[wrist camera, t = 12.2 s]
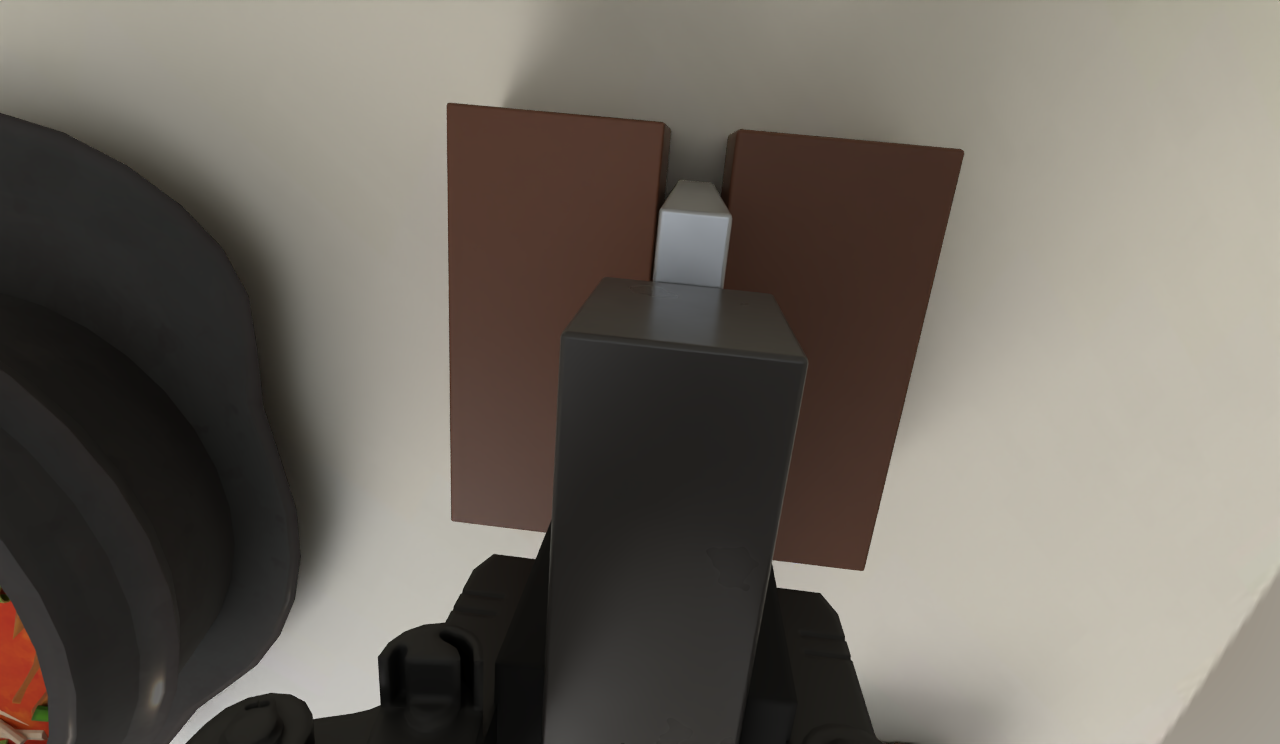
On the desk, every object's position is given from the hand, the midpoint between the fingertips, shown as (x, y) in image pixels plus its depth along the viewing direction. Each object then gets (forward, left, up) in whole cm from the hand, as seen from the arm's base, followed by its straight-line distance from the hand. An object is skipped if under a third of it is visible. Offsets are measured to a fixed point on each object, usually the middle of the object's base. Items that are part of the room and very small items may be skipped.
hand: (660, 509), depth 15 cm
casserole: (+21, +5, -7) cm, 23 cm away
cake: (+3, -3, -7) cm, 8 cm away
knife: (0, 0, -6) cm, 6 cm away
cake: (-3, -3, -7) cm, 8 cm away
